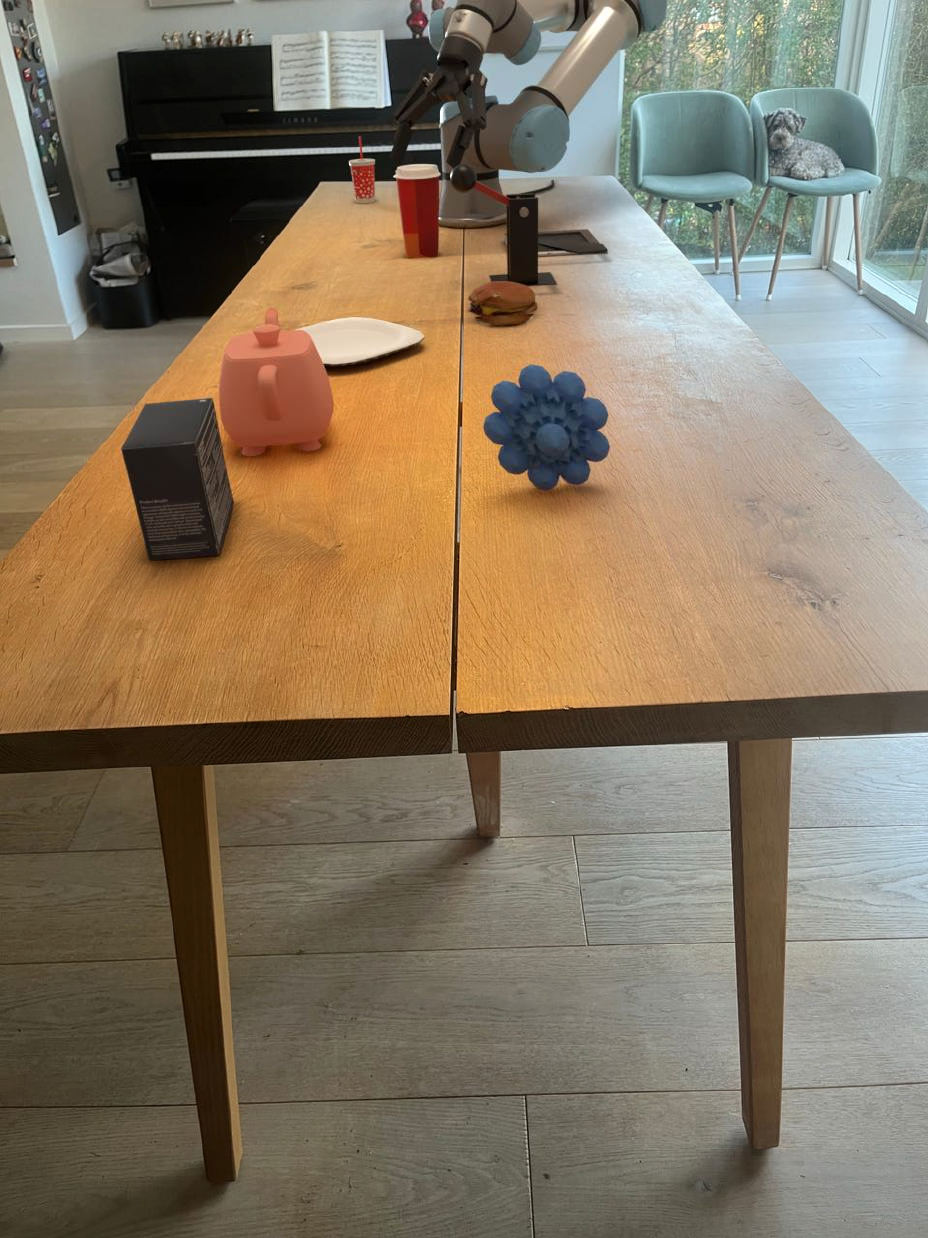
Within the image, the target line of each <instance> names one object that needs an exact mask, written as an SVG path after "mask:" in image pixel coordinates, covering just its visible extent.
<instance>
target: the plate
mask: <svg viewBox="0 0 928 1238" xmlns="http://www.w3.org/2000/svg"><path fill="white" fill-rule="evenodd" d="M295 330H303V331H305V332H307V333H308V334H309V335H310V337H311V339H312V341H313V343H314V345H315V347H316V349H317V351H318V353H319V355H320V358H321V360H322V362H323V364H324V367H349V366H356V365H362V364H366V363H370V362H373V361H377V360H379V359H382V358H385V357H388V356H391V355H393V354H395V353H399V352H401V351H404V350H407V349H409V348H412V347H415V346H417V345H419V344H420V343H421V342H422V341H424V340H425V338H426V337H425V335H424V334H423V333H422V332H421V331H420V330H418V329H415V328H412V327H409V326H406V325H403V324H402V325H401V324H399V323H395V322H390V321H386V320H382V319H377V318H371V317H361V316H359V317H358V316H357V317H356V316H351V317H344V318H336V319H331V320H327V321H323V322H317V323H314V324H311V325H308V326H307V325H306V326H303V327H299V328H296V329H295Z"/></svg>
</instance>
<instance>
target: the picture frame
mask: <svg viewBox="0 0 928 1238" xmlns="http://www.w3.org/2000/svg"><path fill="white" fill-rule="evenodd" d="M504 244H505V246H506V247H507V232H506V233H504ZM552 252H553V253H552ZM555 252H556V253H555ZM608 254H609V249H608V248H607V247H606V246H605V245H604V244H603V243H601V242H600V241H599V240H598V239H597V237H595V236H594V234H593V233H592V232H591V231H590V230H589V229H588V228H586V229H585V228H584V229H565V230H546V231H545V230H544V231H538V258H552V257H553V258H555V257H570V256H571V257H572V256H589V255H590V256H591V255H592V256H593V255H608Z"/></svg>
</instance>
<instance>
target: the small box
mask: <svg viewBox="0 0 928 1238" xmlns="http://www.w3.org/2000/svg"><path fill="white" fill-rule="evenodd" d="M222 443H223V442H222V437H221V433H220V428H219V422H218V418H217V411H216V408H215V401H214V398H213V397H207V398H206V397H205V398H195V399H184V400H183V399H182V400H172V401H162V402H161V401H160V402H150V403H149V402H148V403H144V405H143V406H142V409H141V411H140V412H139V415H138V416H137V419H136V420H135V422H134V424H133V426H132V427H131V429H130V431H129V433H128V435H127V437H126V438H125V440H124V441H123V443H122V446H121V448H120V451H121V454H122V458H123V462H124V466H125V470H126V473H127V478H128V481H129V486H130V489H131V494H132V498H133V501H134V505H135V510H136V514H137V518H138V522H139V526H140V530H141V533H142V538H143V543H144V546H145V551H146V555H147V558H148V560H149V561H161V560H163V561H164V560H174V559H175V560H176V559H187V558H189V559H190V558H202V557H213V556H214V557H215V556H219V555H221V551H222V548H223V546H224V541H225V537H226V533H227V530H228V526H229V524H230V523H229V522H230V519H231V515H232V512H233V509H234V508H233V507H234V504H235V501H234V496H233V492H232V488H231V482H230V479H229V474H228V468H227V465H226V459H225V454H224V448H223V444H222Z"/></svg>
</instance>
